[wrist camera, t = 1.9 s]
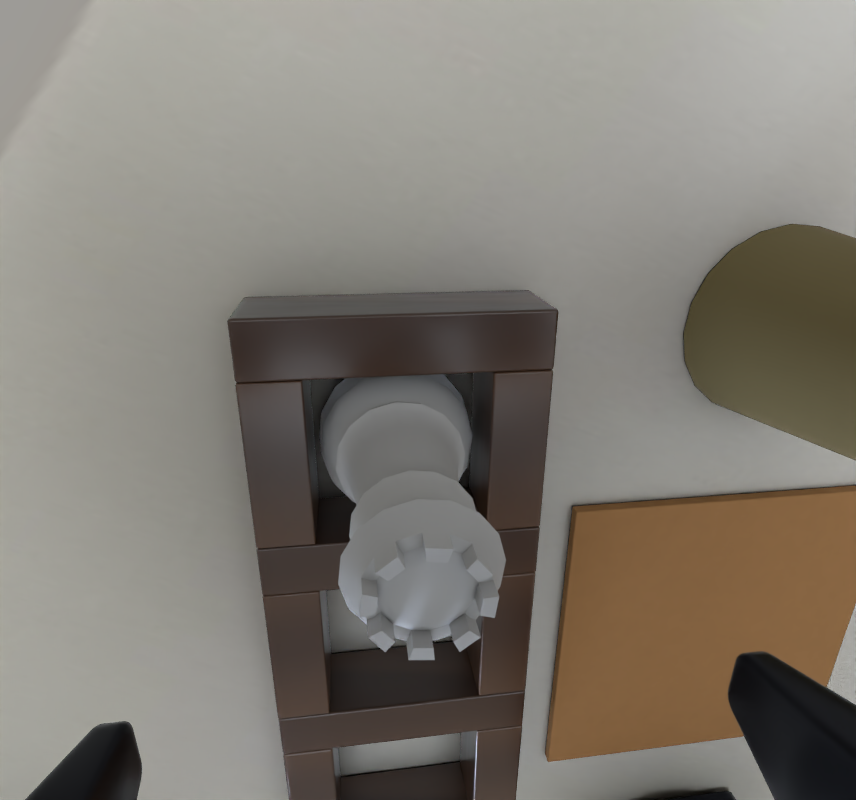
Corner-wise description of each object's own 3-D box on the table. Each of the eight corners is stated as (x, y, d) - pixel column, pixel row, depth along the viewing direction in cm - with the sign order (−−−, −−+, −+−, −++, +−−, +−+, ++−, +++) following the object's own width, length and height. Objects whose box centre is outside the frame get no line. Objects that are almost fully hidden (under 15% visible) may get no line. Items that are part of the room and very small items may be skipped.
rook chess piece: (364, 510, 19) (378, 733, 11) (290, 397, 17) (251, 575, 10) (488, 447, 18) (585, 634, 11) (426, 327, 17) (492, 453, 9)
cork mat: (806, 719, 26) (812, 727, 25) (544, 753, 24) (547, 762, 24) (886, 482, 21) (896, 488, 21) (571, 505, 20) (576, 512, 19)
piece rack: (496, 782, 24) (512, 846, 22) (302, 808, 23) (298, 878, 21) (529, 289, 17) (559, 309, 14) (243, 296, 16) (226, 319, 13)
